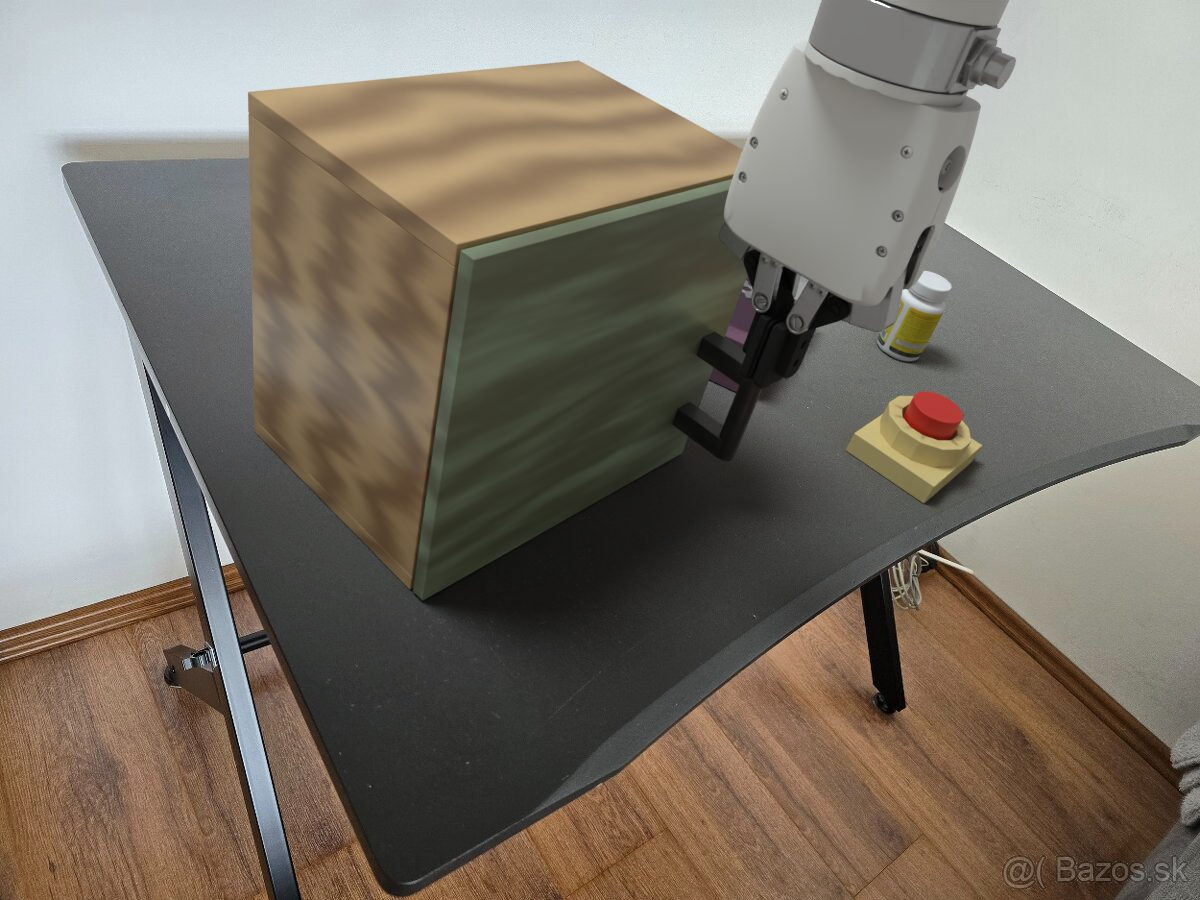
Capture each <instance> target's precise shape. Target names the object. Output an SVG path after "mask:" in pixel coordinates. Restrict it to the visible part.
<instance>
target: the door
mask: <svg viewBox="0 0 1200 900" xmlns="http://www.w3.org/2000/svg"><path fill="white" fill-rule="evenodd" d="M731 182H732V179H730V180H726V181H723V182H719V183H715V184H711V185H707V186H703V187H700V188H696V189H692V190H688V191H684V192H681V193H677V194H673V195H669V196H665V197H662V198H658V199H654V200H650V201H646V202H643V203H639V204H635V205H631V206H627V207H624V208H620V209H616V210H612V211H608V212H605V213H601V214H597V215H593V216H589V217H585V218H582V219H578V220H574V221H570V222H566V223H563V224H559V225H555V226H551V227H547V228H544V229H540V230H536V231H532V232H528V233H525V234H521V235H517V236H513V237H509V238H506V239H502V240H498V241H494V242H490V243H486V244H483V245H479V246H475V247H471V248H467V249H464V250H461V254H460V261H459V268H458V275H457V282H456V289H455V296H454V303H453V310H452V318H451V325H450V332H449V339H448V346H447V353H446V360H445V367H444V374H443V381H442V389H441V396H440V403H439V410H438V417H437V424H436V431H435V438H434V445H433V452H432V460H431V467H430V474H429V481H428V488H427V495H426V502H425V509H424V516H423V524H422V531H421V538H420V545H419V552H418V559H417V566H416V573H415V580H414V587H413V588H412V592H413V593H414V594H415V595H416V596H417V597H418V598H419V599H420V600H421V601H425V600H426V599H428V598H430V597H432V596H434V595H435V594H437V593H439V592H441V591H442V590H445V589H446V588H448V587H450V586H451V585H453V584H455V583H457V582H458V581H460V580H462V579H463V578H465V577H468V576H469V575H470V574H472V573H474V572H476V571H477V570H479V569H481V568H483V567H485V566H486V565H488V564H490V563H492V562H494V561H495V560H497V559H499V558H500V557H502V556H504V555H506V554H508V553H509V552H511V551H513V550H514V549H516V548H518V547H520V546H521V545H523V544H525V543H526V542H529V541H530V540H532V539H534V538H536V537H537V536H539V535H541V534H542V533H544V532H547V531H548V530H550V529H552V528H553V527H555V526H557V525H559V524H560V523H562V522H564V521H565V520H568V519H569V518H571V517H572V516H574V515H576V514H578V513H580V512H582V511H583V510H584V509H586V508H588V507H590V506H592V505H594V504H596V503H597V502H599V501H600V500H602V499H605V498H606V497H608V496H610V495H611V494H613V493H615V492H616V491H618V490H620V489H622V488H624V487H625V486H627V485H629V484H630V483H632V482H634V481H635V480H638V479H639V478H641V477H643V476H645V475H646V474H648V473H650V472H651V471H653V470H655V469H657V468H659V467H660V466H662V465H664V464H666V463H667V462H669V461H671V460H674V458H677V457H679V456H680V455H682V454H683V451H684V449H685V447H686V444H687V441H688V438H689V439H691V440H692V441H693V442H695V444H697V445H699V446H701V448H703V449H704V450H706V451H707V452H709V453H710V454H711V455H713V457H714V458H717V459H718V460H720V461H723V462H731V461H732V460H734V458H735V456H736V454H737V451H738V449H739V446H740V444H741V441H742V438H743V436H744V434H745V432H746V430H747V427H748V425H749V423H750V420H751V418H752V415H753V412H754V410H755V408H756V406H757V404H758V401H759V398H760V396H761V393H762V391H763V389H760V388H759V387H757V386H756V385H754V381H753V379H745V378H744V377H742V376H741V375H739V371H740V369H741V366H742V363H743V360H744V358H745V355H746V353H744V352H743V350H742V349H741V348H739V347H738V346H736V345H735V344H733V343H732V342H730V341H729V340H727V339H726V338H725V335H726V332H727V329H728V327H729V324H730V321H731V318H732V316H733V313H734V310H735V308H736V305H737V302H738V299H739V297H740V294H741V291H742V289H743V286H744V283H745V280H746V278H747V272H746V269H745V266H744V262H743V261H742V260H739V259H738V258H737V257H736V256H735V255H734V254H733V253H732V252H731V251H730V250H729V249H728V248H727V247H726V246H725V245H724V244H723V243H722V242H721V241H720V239H719V231H720V229H721V227H722V226H723V224H724V222H725V219H724V209H725V203H726V199H727V195H728V191H729V188H730V185H731ZM713 367H714V368H715V369H716V370H718V371H719V372H721V373H722V374H724V375H725V376H727V377H728V378H730V379H731V380H733V381H734V382H735V383H737V384H738V385H739V387H738V389H737V392H735V395H734V397H733V400H732V402H731V404H730V408H729V409H728V412H727V415H726V417H725V420H724V423H723V424H722V423H721V422H719V421H718V420H717V419H715V418H713V417H712V415H709V414H708V413H707V412H705V411H704V410H702V409H701V408H700V405H701V404H702V403H701V402H702V400H703V397H704V394H705V393H706V390H707V387H708V383H709V381H710V380H709V378H710V376H711V373H712V370H713Z"/></svg>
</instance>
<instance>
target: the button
mask: <svg viewBox="0 0 1200 900" xmlns="http://www.w3.org/2000/svg"><path fill="white" fill-rule="evenodd" d="M913 396H914V397H913V398H912V400H911V402H910V404H909V406H908V408H907V409H906V411H905V413H904V420H905V421H906V422H907V423H908V425H909V426H910V427H911V428H913V429H914V430H916V431H917V432H919V433H920V434H922V435H923V436H926V437H930V438H933V439H936V440H949V439H950V438H951V437H952V436H953V434H954V432H955V431H956V429H957V428H958V426H959V424H960V423H961V421H963V418H964V414H963V411H962V409H961V408H960V406H958V404H956V403H955V402H954V401H952V400H951V399H949V398H948V397H946V396H945V395H942V394H940V393H937V392H933V391H924V390H923V391H922V390H921V391H919V392H916V393H915V394H914V395H913Z"/></svg>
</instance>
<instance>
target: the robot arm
mask: <svg viewBox="0 0 1200 900" xmlns="http://www.w3.org/2000/svg"><path fill="white" fill-rule="evenodd" d="M1009 2H1010V0H820V4H819V6H818V9H817V13H816V16H815V19H814V22H813V24H812V28H811V30H810V34H809V37H808V39H806V40H805V39H804V40H800V41H797V42H796V43H795V44H794V46H793V47H792V49H791V51H790V52H789V53H788V55H787V57H786V59H785V61H784V62H783V64H782V65H781V68H780V69H779V71H778V73H777V75H776V77H775V79H774V81H772V84H771V86H770V88H769V90H768V92H767V94H766V96H765V98H764V100H763V102H762V104H761V107H760V108H759V111H758V113H757V115H756V118H755V120H754V123H753V125H752V127H751V128H750V130H749V134H748V136H747V138H746V141H745V144H744V146H743V148H742V149H743V151H742V153H741V156H740V159H739V162H738V164H737V167H736V170H735V173H734V175H733V178H732V182H731V185H730V188H729V191H728V195H727V199H726V203H725V209H724V219H725V222H724V224H723V226H722V227H721V229H720V231H719V239H720V241H721V242H722V243H723V244H724V245H725V246H726V247H727V248H728V249H729V250H730V251H731V252H732V253H733V254H734V255H735V256H736V257H737V258H738V259H739V260H742V261H743V262H744V266H745V269H746V272H747V275H748V277H749V280H750V283H751V286H752V289H753V291H752V296H751V304H752V306H753V308H754V309H755V310H756V313H755V316H754V319H753V321H752V324H751V327H750V329H749V332H748V335H747V337H746V340H745V343H744V346H743V352H744V353H746V355H745V358H744V360H743V363H742V366H741V369H740V371H739V375H741V376H742V377H744V378H745V379H753V381H754V385H756V386H757V387H759V388H760V389H762V390H764V389H766V388H768V387H770V386H771V385H773V384H775V383H777V382H779V381H781V380H783V379H785V380H788V379H790V378H792V377H793V376H794V375H796V374H797V372H798V371H799V370H800V367H801V365H802V363H803V360H804V358H805V356H806V355H807V352H808V349H809V347H810V345H811V343H812V340H813V337H814V334H815V332H816V331H817V329H818V328H822V327H824V326H825V327H826V326H828V325H832V324H834V323H838V322H840V321H842V322H845V323H847V324H848V325H851V326H854V327H857V328H861V329H863V330H867V331H871V332H873V333H874V332H875V333H880V332H881V331H883V330H885V329H886V328H888V327H890V326H892V325H893V324H894V323H895V322H896V320H897V315H898V311H899V306H900V301H901V296H902V291H903V289H907V290H908V289H910V288H911V287H912V286H914V285H915V284H916V283H917V281H918V280H919V278H920V277H921V275H922V273H923V271H925V269H926V267H927V265H928V263H929V261H930V259H931V258H932V257H931V256H932V255H933V253H934V250H935V248H936V245H937V243H938V240H939V238H940V235H941V233H942V230H943V228H944V225H945V224H946V220H947V218H948V215H949V212H950V210H951V208H952V205H953V202H954V199H955V196H956V193H957V190H958V188H959V185H960V182H961V179H962V176H963V174H964V170H965V167H966V164H967V161H968V158H969V154H970V151H971V148H972V145H973V142H974V138H975V134H976V130H977V125H978V121H979V117H980V113H981V108H982V106H981V104H980V102H979V101H977V100H976V99H975V98H972V97H970V96H969V95H967V94H968V92H969V91H970V90H973V89H975V87H976V86H980V87H982V86H985V85H987V86H989V87H992V88H994V89H997V90H1000V89H1002V88H1004V86H1005V84H1006V83H1007V82H1008V81H1009V79H1010V77H1011V75H1012V73H1013V72H1014V69H1015V66H1016V63H1017V59H1016V57H1015V56H1012V55H1010V54H1007V53H1004V52H1003V49H1002V47H999V46H997V45H998V37H999V35H1000V33H1001V31H1002V28H1000V27H998V25H999V24H1000V21H1001V19H1002V18H1003V15H1004V12H1005V11H1006V8H1007V6H1008V4H1009ZM801 277H802V278H804V279H806V280H807V282H806V283H807V284H806V286H805V288H804V289H803V291H802V293H801V294H800V296H799V298H798V299H797V301H796V303H794V302H795V300H794V298H795V296H796V293H797V289H798V285H799V281H801Z"/></svg>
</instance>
